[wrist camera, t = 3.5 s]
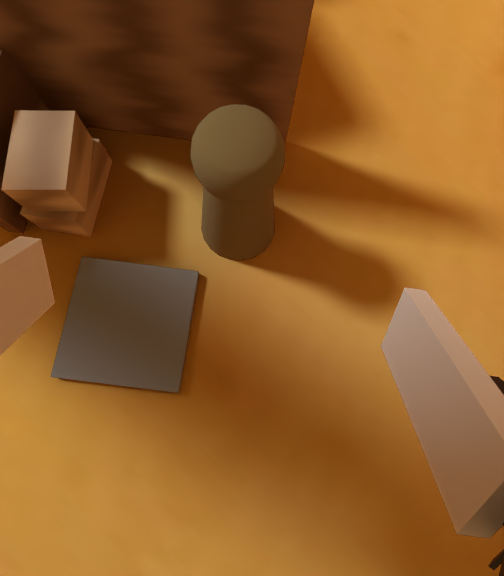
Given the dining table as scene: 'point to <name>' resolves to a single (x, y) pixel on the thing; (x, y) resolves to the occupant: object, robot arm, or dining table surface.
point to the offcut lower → (86, 219)
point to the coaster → (127, 325)
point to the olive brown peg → (237, 178)
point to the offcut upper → (48, 161)
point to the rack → (146, 64)
